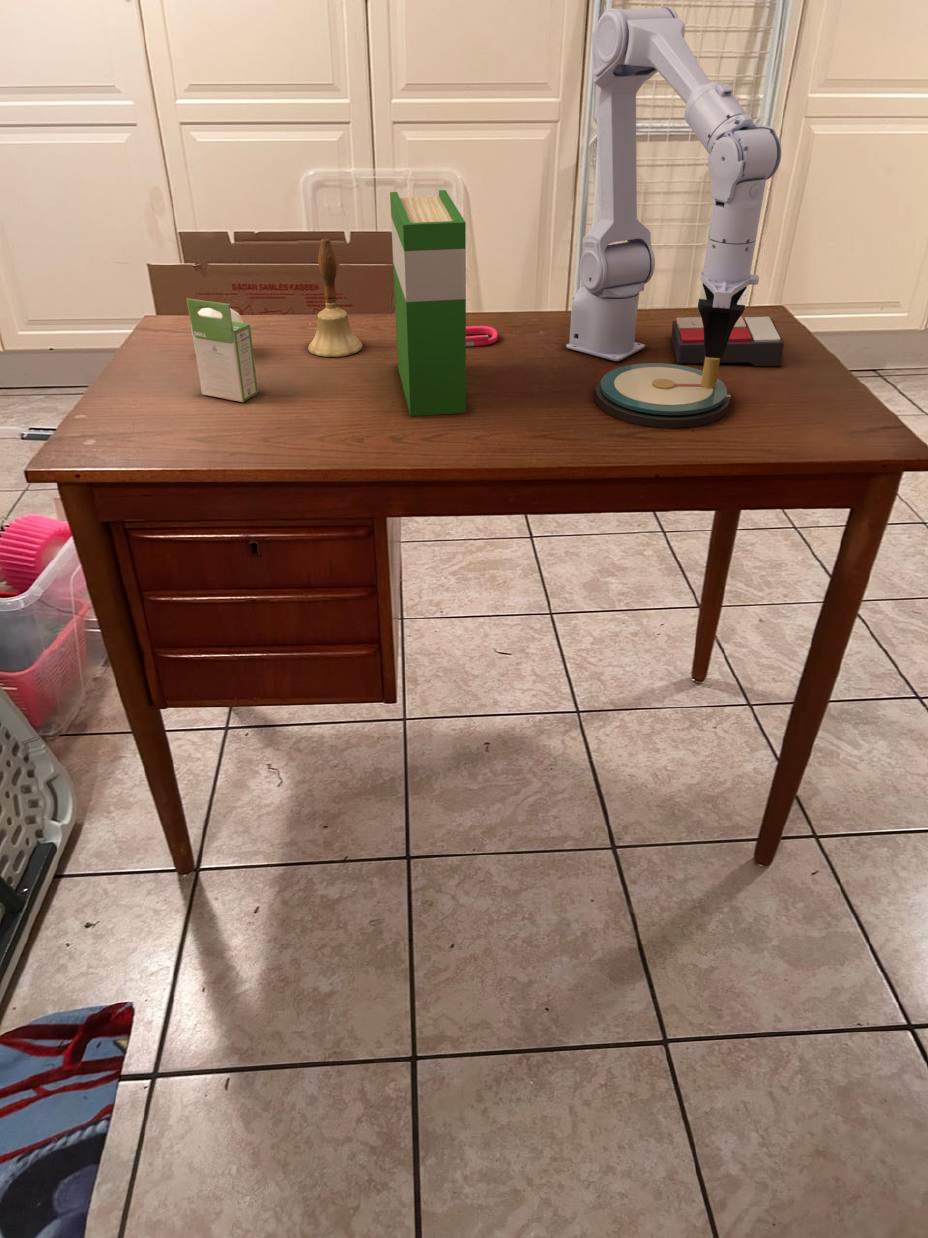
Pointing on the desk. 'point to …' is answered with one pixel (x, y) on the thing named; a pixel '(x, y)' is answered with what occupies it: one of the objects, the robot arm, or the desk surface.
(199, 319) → the ink box
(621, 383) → the turntable with peg
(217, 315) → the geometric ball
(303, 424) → the desk surface
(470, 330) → the fitness band
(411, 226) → the hardback book
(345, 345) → the hand bell
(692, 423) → the stand
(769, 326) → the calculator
